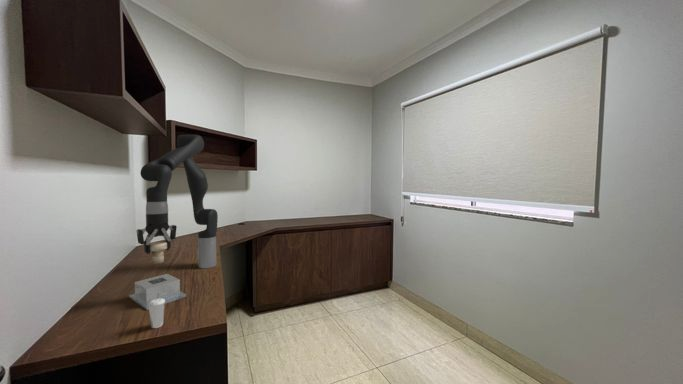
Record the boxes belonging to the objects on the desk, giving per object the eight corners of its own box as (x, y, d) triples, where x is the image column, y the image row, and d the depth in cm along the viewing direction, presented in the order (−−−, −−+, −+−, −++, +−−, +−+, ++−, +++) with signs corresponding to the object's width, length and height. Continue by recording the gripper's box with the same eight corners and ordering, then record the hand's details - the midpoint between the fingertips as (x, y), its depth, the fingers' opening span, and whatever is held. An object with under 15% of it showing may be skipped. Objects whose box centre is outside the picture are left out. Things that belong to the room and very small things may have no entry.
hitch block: (129, 297, 107) (129, 281, 106) (167, 286, 118) (166, 271, 118) (146, 310, 97) (146, 291, 96) (185, 296, 108) (185, 280, 108)
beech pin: (145, 262, 106) (145, 243, 106) (163, 258, 111) (163, 240, 111) (152, 265, 103) (152, 246, 102) (170, 261, 108) (169, 242, 108)
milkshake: (166, 319, 90) (166, 292, 90) (164, 327, 85) (163, 298, 85) (150, 323, 88) (150, 294, 88) (147, 331, 83) (147, 301, 83)
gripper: (172, 210, 114) (172, 246, 115) (132, 213, 102) (133, 254, 103) (180, 211, 110) (180, 249, 111) (139, 214, 98) (140, 257, 99)
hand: (157, 251), depth 107 cm, fingers closed on beech pin, 6 cm apart
